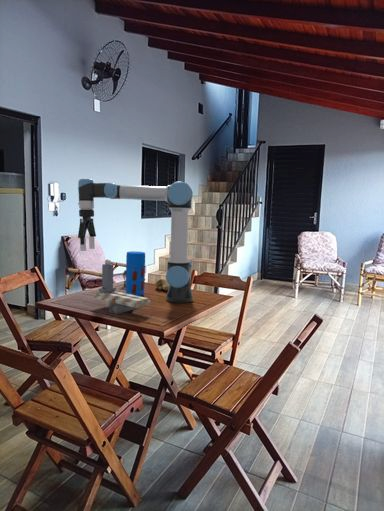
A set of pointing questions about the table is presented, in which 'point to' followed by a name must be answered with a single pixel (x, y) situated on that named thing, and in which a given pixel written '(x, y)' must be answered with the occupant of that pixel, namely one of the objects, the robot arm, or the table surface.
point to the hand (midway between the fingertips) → (87, 249)
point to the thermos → (135, 273)
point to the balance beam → (122, 301)
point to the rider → (107, 277)
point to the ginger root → (162, 284)
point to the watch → (124, 277)
